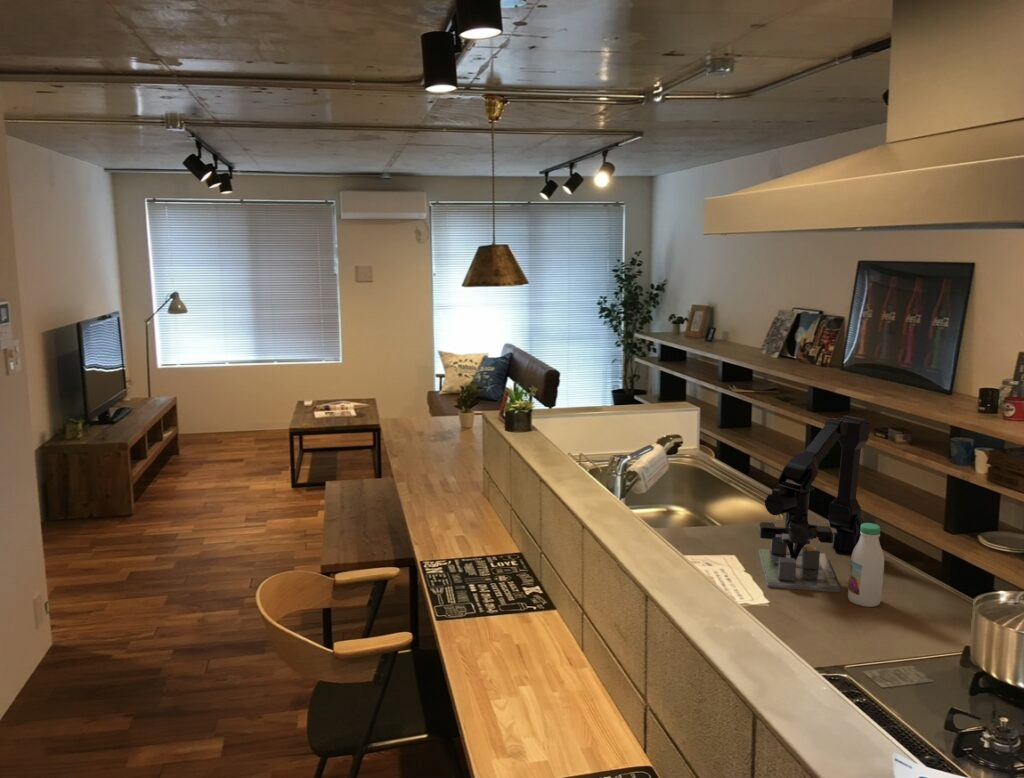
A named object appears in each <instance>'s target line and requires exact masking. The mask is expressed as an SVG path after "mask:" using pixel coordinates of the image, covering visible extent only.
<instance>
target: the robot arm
mask: <svg viewBox="0 0 1024 778" xmlns="http://www.w3.org/2000/svg"><path fill="white" fill-rule="evenodd" d="M870 433H871V424H870V422H869V421H868V420H867V419H866V418H865V419H864V418H861V417H860V418H859V417H856V416H855V417H854V416H851V415H843V416H842V417H841V418H839V417H838V418H837V417H831V418H828V419H826V420H825V423H824V426H823V427H822V429H821V430H820V431H819V432H818V433H817V435H816V436H815V437H814V439H813V440H812V441H811V443H810V444H809V445H808V446H807V447H806V449H805V450H804V451H803V452H801V453H799V454H796V455H794V456H793V457H792V458H791V459H790V460H789V461H788V462H787V463H786V464H785V465H784V467H783V470H782V471H781V474H780V475H779V477H778V480H777V481H776V484H775V486H776V487H778V488H772V490H771V493H770V494H768V495H767V496H766V498H765V499H764V507H765V509H766V511H767V512H768V513H769V514H770V515H772V516H779V515H783V514H785V515H784V516H785V519H784V527H777V526H776V525H775V523H774V522H765V521H761V522H760V523H759V524H758V533H759V538H761V539H764V540H766V539H767V540H771V539H773V538H774V537H776V534H779V535H780V537H781V540H782V542H784V543H786V544H787V549H788V551H789V553H790V557H791V558H795V561H796V559H797V557H798V555H799V553H800V552H802V550H803V547H805V546H807V545H810V543H811V541H810V540H814V539H816V538H817V540H818V541H819V542H820V543H825V544H831V547H832V549H833V550H834V552H835V553H836V554H840V555H841V554H842V555H852V552H853V550H854V548H855V546H856V545H857V543H858V541H859V539H860V536H861V534H860V526H861V524H863V523H866V522H865V521H864V519H863V518H862V508H861V506H860V504H859V501H858V499H857V489H858V480H859V469H860V463H861V462H860V460H861V451H862V448H863V447H864V446H865V444H867V442H868V441H869V436H870ZM837 441H838V442H839V444H840V446H841V452H840V453H841V455H840V466H839V474H838V475H839V476H838V485H837V495H836V498H835V499H834V500H833V501H830V502H829V503H828V512H827V516H828V521H829V522H828V523H829V525H827V526H826V525H817V524H809V518H808V517H809V506H810V505H809V504H810V491H811V492H812V491H814V490H815V486H813V485H812V484H813V483H814V481H815V480H816V478H817V476H818V475H819V465H820V464H821V462H822V461H823V459H824V458H825V457H826V456H827V455H828V453H829V452H830V451H831V449H833V447H834V446H835V444H836V443H837ZM794 483H795V484H794ZM831 528H832V529H834V532H833V530H832V529H831Z"/></svg>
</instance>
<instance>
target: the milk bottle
mask: <svg viewBox="0 0 1024 778" xmlns="http://www.w3.org/2000/svg"><path fill="white" fill-rule="evenodd" d="M881 530H882V529H881V526H880V525H879V524H876V523H871V522H865V523H863V524H861V526H860V534H861V535H860V538H859V541H858V543H857V545H856V546H855V548H854V550H853V552H852V554H851V557H850V564H849V565H850V567H849V576H848V577H849V578H848V589H847V599H848V601H850V602H851V603H852V604H854V605H857V606H861V607H867V608H873V607H878V606H879V605H880V604H881V602H882V593H883V582H884V572H885V571H884V570H885V556H884V551H883V549H882V546H881V543H880V537H881Z"/></svg>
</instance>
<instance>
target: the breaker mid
mask: <svg viewBox="0 0 1024 778" xmlns="http://www.w3.org/2000/svg"><path fill="white" fill-rule="evenodd" d="M820 551H821V550H820V549H819V547H816V546H803V548H802V549H801V552H802V563H801V564H802V567H803V568H808V569H819V558H820V553H821V552H820Z"/></svg>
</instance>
